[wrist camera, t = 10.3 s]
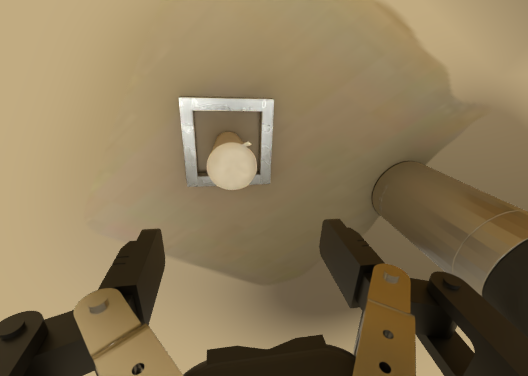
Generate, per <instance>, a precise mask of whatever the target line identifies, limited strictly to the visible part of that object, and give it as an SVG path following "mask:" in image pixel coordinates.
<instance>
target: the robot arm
mask: <svg viewBox="0 0 528 376" xmlns="http://www.w3.org/2000/svg"><path fill="white" fill-rule="evenodd" d="M372 201H373V206H374V208H375V210H376V211H377V213H378V214H380V215H381V216H382V217H383V218H384V219H385V220H386V221H388V222H389V223H390V224H391V225H392V226H393V227H394V228H395V229H397V230H398V231H399V232H400V233H401V234H402V235H403V236H405V237H406V238H407V239H408V240H409V241H410V242H411V243H413V244H414V245H415V246H416V247H417V248H418V249H419V250H421V251H422V252H423V253H424V254H425V255H426V256H427V257H429V258H430V259H431V260H432V261H433V262H434V263H436V264H437V265H438V266H439V267H440V268H441V269H442V270H444V271H445V272H434V273H432V274H431V276H430V279H429V281H425V280H419V279H413V278H409V276H408V274H407V273H406V272H405V271H403V270H402V269H400V268H398V267H396V266H394V265H391V264H385V263H384V262H383V261H382V259H381V258H380V257H379V256H378V255H377V254H376V253H375V251H374V250H373V249H372V248H371V247H370V246H369V245H368V243H367V242H366V241H364V239H363V238H362V237H361V235H360V234H359V233H358V232H356V231H354V230H353V229H351V228H347V227H346V226H345V225H344V224H343V222H342V221H341V220H340V219H326V220H324V221H323V224H322V231H321V238H320V246H319V247H320V254H321V257H322V258H323V260H324V262H325V264H326V266H327V267H328V269H329V271H330V273H331V275H332V276H333V278H334V280H335V282H336V283H337V285H338V287H339V289H340V291H341V292H342V294H343V296H344V297H345V300H346V301H347V303H348V305H349V307H350V308H357V307H360V308H361V309H362V314H361V319H360V323H359V329H358V333H357V337H356V342H355V346H354V351H353V354H351V353H350V352H348V351H346V350H344V349H341V348H339V347H336V346H332V345H327V344H326V343H325V340H324V338H323V335H316V336H308V337H300V338H295V339H293V340H290V341H288V342H285V343H283V344H280V345H278V346H276V347H273V348H271V349H258V348H250V347H242V346H232V347H225V348H217V349H210V350H207V360H206V361H204V362H202V363H200V364H198V365H196V366H194V367H193V368H191V369H190V370H189V371H187V372H186V373H185V374H184V375H183V374H182V373H181V371H180V370H179V368H178V367H177V366H176V364H175V363H174V361H173V360H172V358H171V357H170V356H169V355H168V353H167V351H166V350H165V348H164V347H163V346H162V344H161V343H160V341H159V340H158V338H157V337H156V335H155V334H154V333H153V331H152V330H151V329H150V327H149V326H148V325H149V321H150V318H151V314H152V310H153V307H154V303H155V300H156V296H157V293H158V289H159V286H160V282H161V278H162V275H163V272H164V267H165V253H164V247H163V240H162V234H161V230H160V229H144V230H142V231H141V233H140V235H139V237H138V239H137V241H129V242H128V243H127V244H126V245H125V246H123V247H122V248H121V249H120V251H119V253H118V255H117V256H116V259H115V260H114V262H113V264H112V266H111V267H110V269H109V271H108V272H107V274H106V276H105V278H104V280H103V281H102V283H101V285H100V287H99V289H98V290H97V291H94V292H92V293H90V294H88V295H87V296H85V297H84V298H83V299H81V300H80V301H79V302H78V304H77V305H76V306H75V308H74V310H72V311H70V312H67V313H64V314H61V315H58V316H54V317H51V318H48V319H45V320H44V319H43V316H42V314H40V313H39V312H36V311H26V312H21V313H18V314H15V315H12V316H10V317H8V318H6V319H4V320H3V321H1V322H0V376H83V375H85V374H87V373H90V372H92V371H95V373H96V375H97V376H416V347H415V346H416V344H415V334H416V335H417V337H418V338H419V340H420V341H421V343H422V344H423V345H424V347H425V348H426V350H427V351H428V353H429V354H430V356H431V357H432V358H433V360H434V361H435V363H436V364H437V366H438V367H439V369H440V370H441V372H442V373H443V375H444V376H528V211H526V210H523V209H521V208H519V207H517V206H514V205H512V204H510V203H507V202H505V201H503V200H501V199H498V198H497V197H494V196H492V195H490V194H488V193H485V192H483V191H480V190H479V189H476V188H474V187H472V186H470V185H467V184H465V183H463V182H461V181H458V180H456V179H454V178H452V177H450V176H447V175H445V174H443V173H441V172H439V171H436V170H434V169H432V168H430V167H428V166H425V165H423V164H421V163H418V162H414V161H407V162H403V163H399V164H397V165H395V166H393V167H392V168H390V169H389V170H387V171H386V172H385V173H384V174H383V175H382V176H381V178H380V179H379V180H378V182H377V184H376V186H375V188H374V191H373V197H372ZM457 325H458V326H459V327H460V328H461V330H462V331H463V332H464V333H465V334H466V336H467V337H468V338H469V339H470V340H471V342H472V344H473V346H474V350H475V353H474V352H473V351H472V350H471V349H470V348H469V346H468V345H467V344H466V343H465V342H464V341H463V340H462V338H461V337H460V336H459V335H458V334H457V332H456V331H455V329H456V327H457Z"/></svg>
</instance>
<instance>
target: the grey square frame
mask: <svg viewBox="0 0 528 376" xmlns="http://www.w3.org/2000/svg"><path fill="white" fill-rule="evenodd" d="M179 107H180V117H181V127H182V137H183V148H184V158H185V168H186V179H187V187H197V186H217V185H215V184H214V183H213V181H212V180H211V179H210V177H209V175H208V173H207V172H198V163H197V150H196V137H195V124H194V110H197V111H260V141H259V171H257V172H256V175H255V177H254V178H253V180H252V181H251V183H250V184H249V185H252V184H270V176H271V155H272V133H273V112H274V99H272V98H233V97H184V96H180V97H179Z"/></svg>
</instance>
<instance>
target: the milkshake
mask: <svg viewBox="0 0 528 376" xmlns="http://www.w3.org/2000/svg"><path fill="white" fill-rule="evenodd" d="M250 145H252V143H250V142H246V143H244V142H243V141H242V140H241V138H240V137H239V136H238V135H237V134H236V133H233V132H227V131H226V132H224V133H222V134H220V135H218V137H217V139H216V141H215V143H214V146H213V149H212V151H211V153H210V156H209V158H208V160H207V173H208V175H209V177H210V179H211V180H212V181H213V183H214V184H215V185H217V186H219V187H221V188H223V189H227V190H237V189H242V188H244V187H246V186H247V185H249V184H250V183H251V181H252V180H253V178H254V177H255V175H256V172H257V162H256V158H255V156H254V154H253V152H252V151H251V150H250V149H249V148H248V147H247V146H250Z"/></svg>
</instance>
